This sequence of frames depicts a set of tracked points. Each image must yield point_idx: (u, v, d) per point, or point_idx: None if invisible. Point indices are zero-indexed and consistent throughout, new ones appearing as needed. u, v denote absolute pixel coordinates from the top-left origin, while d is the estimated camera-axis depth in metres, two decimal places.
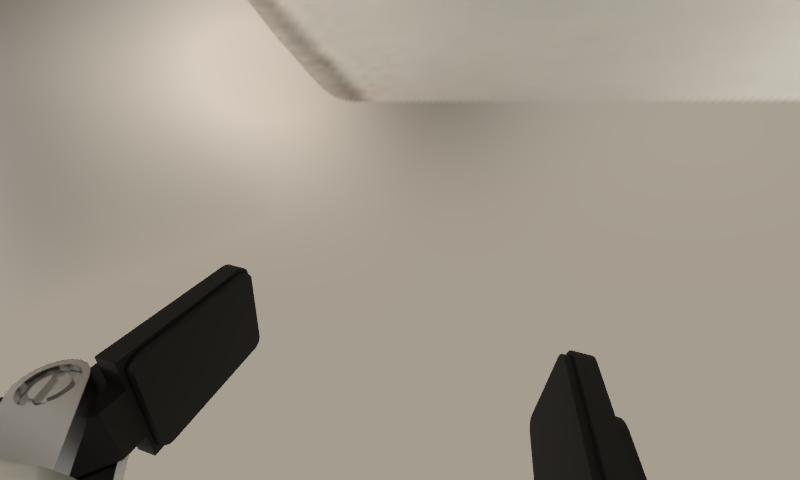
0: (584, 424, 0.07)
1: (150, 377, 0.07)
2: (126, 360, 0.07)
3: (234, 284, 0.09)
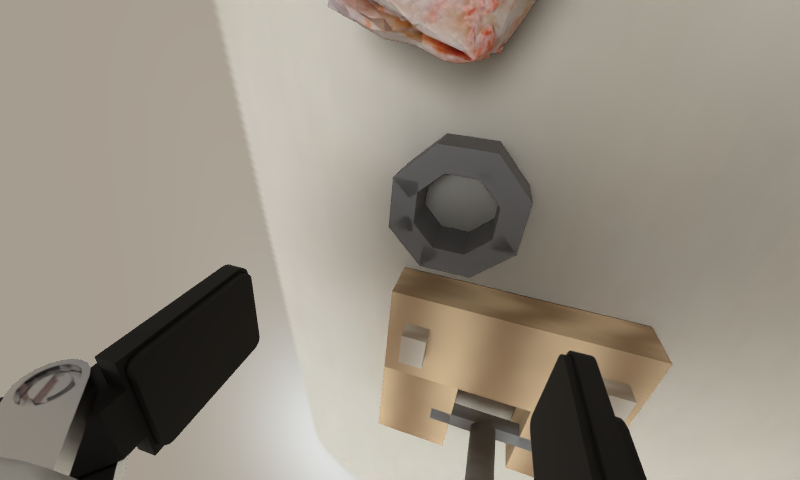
0: (584, 424, 0.07)
1: (150, 377, 0.07)
2: (126, 360, 0.07)
3: (234, 284, 0.09)
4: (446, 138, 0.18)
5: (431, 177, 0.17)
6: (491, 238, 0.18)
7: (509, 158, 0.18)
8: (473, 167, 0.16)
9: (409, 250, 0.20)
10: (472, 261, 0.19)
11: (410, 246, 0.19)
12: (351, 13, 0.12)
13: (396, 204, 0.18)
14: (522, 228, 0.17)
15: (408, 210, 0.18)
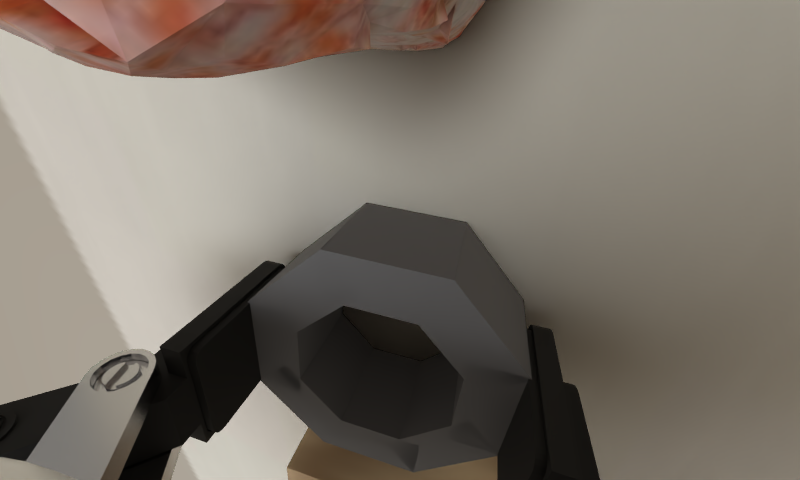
0: (533, 385, 0.07)
1: (208, 367, 0.08)
2: (188, 350, 0.07)
3: None
4: (354, 223, 0.09)
5: (318, 310, 0.08)
6: (449, 418, 0.09)
7: (483, 260, 0.09)
8: (401, 301, 0.07)
9: (302, 418, 0.10)
10: (416, 451, 0.10)
11: (303, 412, 0.10)
12: None
13: (264, 347, 0.09)
14: (510, 417, 0.08)
15: (287, 358, 0.09)
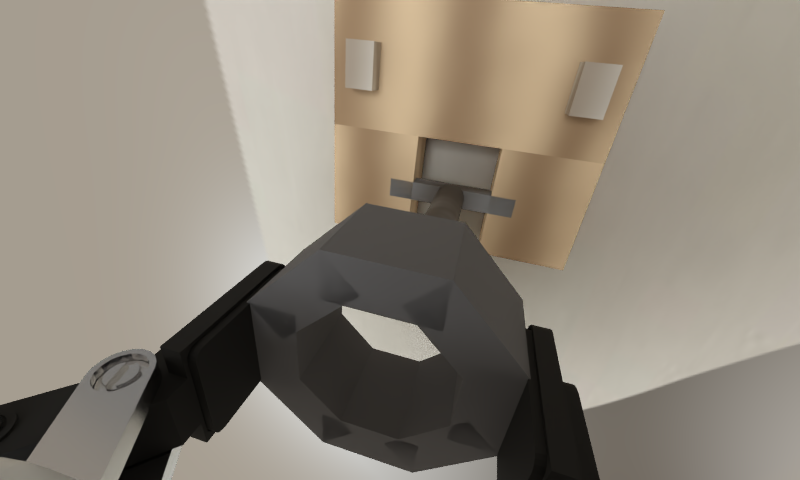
0: (533, 385, 0.07)
1: (208, 366, 0.08)
2: (189, 350, 0.07)
3: None
4: (353, 223, 0.09)
5: (317, 310, 0.08)
6: (448, 418, 0.09)
7: (482, 261, 0.09)
8: (400, 301, 0.07)
9: (301, 418, 0.10)
10: (415, 451, 0.10)
11: (302, 413, 0.10)
12: None
13: (263, 347, 0.09)
14: (509, 418, 0.08)
15: (286, 358, 0.09)
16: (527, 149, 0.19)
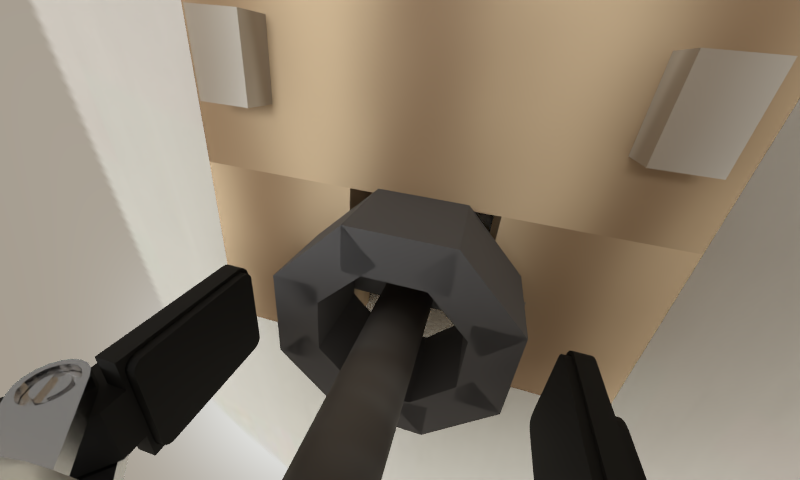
0: (584, 424, 0.07)
1: (150, 377, 0.07)
2: (126, 360, 0.07)
3: (234, 284, 0.09)
4: (369, 204, 0.10)
5: (337, 281, 0.09)
6: (454, 381, 0.10)
7: (484, 238, 0.10)
8: (412, 270, 0.08)
9: (319, 386, 0.11)
10: (424, 413, 0.11)
11: (320, 381, 0.11)
12: None
13: (286, 318, 0.10)
14: (509, 376, 0.09)
15: (307, 328, 0.10)
16: (549, 220, 0.10)
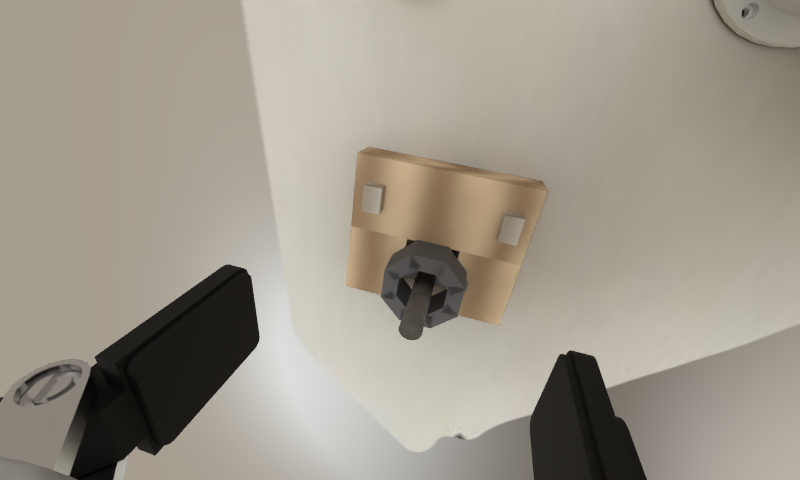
0: (584, 424, 0.07)
1: (150, 377, 0.07)
2: (126, 360, 0.07)
3: (234, 284, 0.09)
4: (416, 247, 0.29)
5: (407, 271, 0.29)
6: (443, 306, 0.30)
7: (453, 258, 0.30)
8: (431, 268, 0.28)
9: (393, 310, 0.31)
10: (431, 319, 0.31)
11: (394, 308, 0.31)
12: None
13: (385, 284, 0.30)
14: (460, 302, 0.29)
15: (393, 288, 0.30)
16: (475, 253, 0.30)
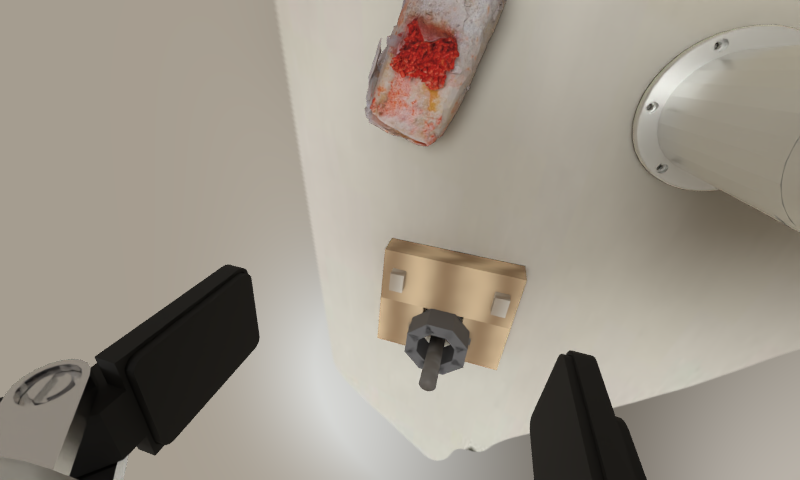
0: (584, 424, 0.07)
1: (150, 377, 0.07)
2: (126, 360, 0.07)
3: (234, 284, 0.09)
4: (430, 316, 0.39)
5: (424, 335, 0.39)
6: (451, 359, 0.40)
7: (459, 323, 0.40)
8: (442, 334, 0.38)
9: (414, 361, 0.41)
10: (443, 368, 0.41)
11: (415, 360, 0.41)
12: (379, 127, 0.29)
13: (408, 343, 0.40)
14: (464, 357, 0.39)
15: (414, 346, 0.40)
16: (475, 319, 0.40)
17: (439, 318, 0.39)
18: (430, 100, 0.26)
